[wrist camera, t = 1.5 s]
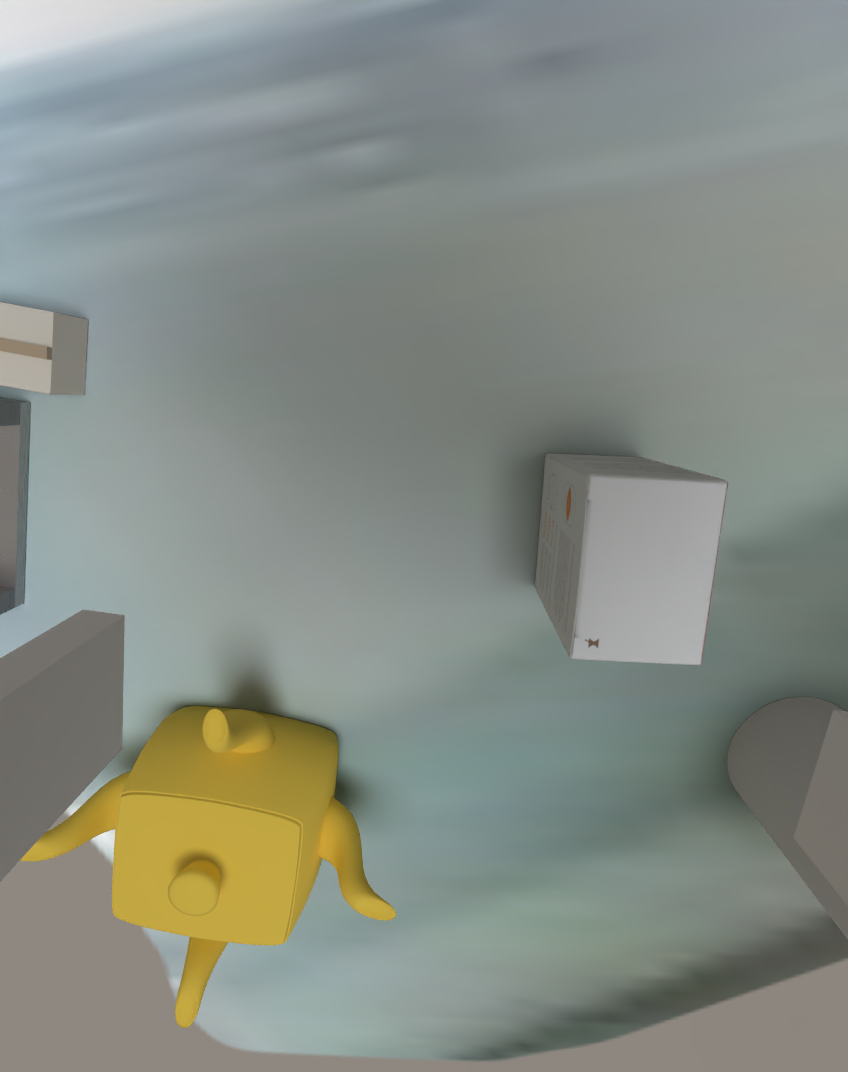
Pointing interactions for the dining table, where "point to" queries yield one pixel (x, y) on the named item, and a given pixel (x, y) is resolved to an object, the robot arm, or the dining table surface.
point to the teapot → (222, 834)
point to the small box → (628, 557)
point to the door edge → (42, 350)
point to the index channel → (13, 500)
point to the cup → (785, 780)
